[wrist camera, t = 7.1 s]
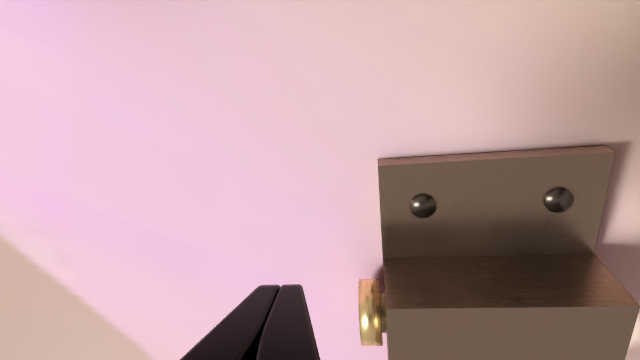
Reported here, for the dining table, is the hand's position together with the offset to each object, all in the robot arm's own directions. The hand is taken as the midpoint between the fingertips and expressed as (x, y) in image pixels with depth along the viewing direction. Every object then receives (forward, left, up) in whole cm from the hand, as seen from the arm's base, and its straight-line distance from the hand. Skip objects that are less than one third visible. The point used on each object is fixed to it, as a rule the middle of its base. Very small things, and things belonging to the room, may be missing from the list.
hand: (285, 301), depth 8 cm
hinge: (-7, +9, -12) cm, 17 cm away
